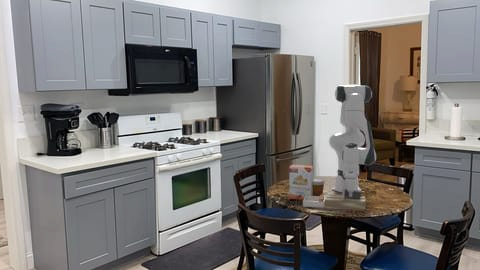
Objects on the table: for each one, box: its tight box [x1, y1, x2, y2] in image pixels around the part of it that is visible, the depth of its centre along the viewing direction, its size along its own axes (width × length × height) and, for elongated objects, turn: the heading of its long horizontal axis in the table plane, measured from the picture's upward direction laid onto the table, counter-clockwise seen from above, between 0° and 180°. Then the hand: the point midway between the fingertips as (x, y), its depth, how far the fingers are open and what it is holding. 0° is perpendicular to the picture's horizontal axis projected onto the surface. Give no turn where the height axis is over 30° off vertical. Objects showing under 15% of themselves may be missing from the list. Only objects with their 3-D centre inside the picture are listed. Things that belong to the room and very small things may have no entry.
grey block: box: [341, 188, 362, 199], centre depth 231 cm, size 12×10×4 cm
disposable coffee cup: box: [312, 177, 325, 196], centre depth 248 cm, size 10×10×12 cm
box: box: [302, 195, 326, 209], centre depth 237 cm, size 12×12×4 cm
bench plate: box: [324, 193, 366, 212], centre depth 232 cm, size 12×22×5 cm, turn 74°
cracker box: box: [288, 164, 315, 201], centre depth 248 cm, size 14×6×21 cm, turn 65°
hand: (350, 195), depth 231 cm, fingers closed on grey block, 2 cm apart
